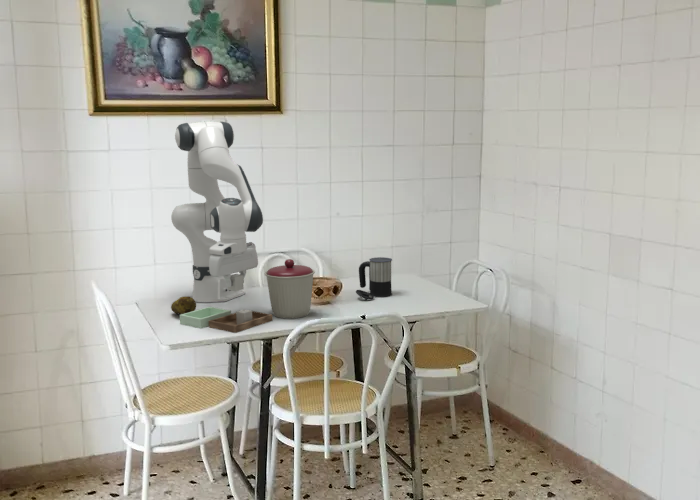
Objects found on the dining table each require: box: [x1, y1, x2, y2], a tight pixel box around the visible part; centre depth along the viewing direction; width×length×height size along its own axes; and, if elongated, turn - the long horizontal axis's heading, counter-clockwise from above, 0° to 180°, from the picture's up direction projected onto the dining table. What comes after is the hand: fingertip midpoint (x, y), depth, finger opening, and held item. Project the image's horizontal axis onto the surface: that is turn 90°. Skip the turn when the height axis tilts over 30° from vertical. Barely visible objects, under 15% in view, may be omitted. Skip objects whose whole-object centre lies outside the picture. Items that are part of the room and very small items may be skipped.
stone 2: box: [235, 309, 253, 325], centre depth 253 cm, size 4×4×5 cm
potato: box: [170, 295, 197, 316], centre depth 270 cm, size 8×13×8 cm, turn 21°
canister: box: [264, 258, 316, 320], centre depth 265 cm, size 18×18×21 cm
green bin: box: [179, 306, 232, 329], centre depth 259 cm, size 14×11×4 cm
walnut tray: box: [208, 309, 274, 334], centre depth 255 cm, size 18×13×3 cm
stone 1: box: [228, 273, 245, 291], centre depth 255 cm, size 4×4×5 cm
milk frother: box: [355, 256, 393, 301], centre depth 293 cm, size 14×16×15 cm
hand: (235, 284), depth 256 cm, fingers closed on stone 1, 4 cm apart
